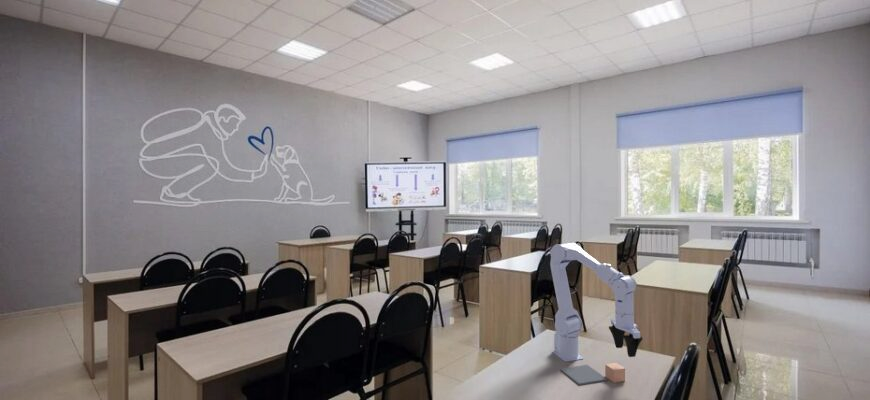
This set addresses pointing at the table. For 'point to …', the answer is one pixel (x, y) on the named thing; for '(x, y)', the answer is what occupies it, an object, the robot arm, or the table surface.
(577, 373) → the mat
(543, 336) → the table surface
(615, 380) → the cube
